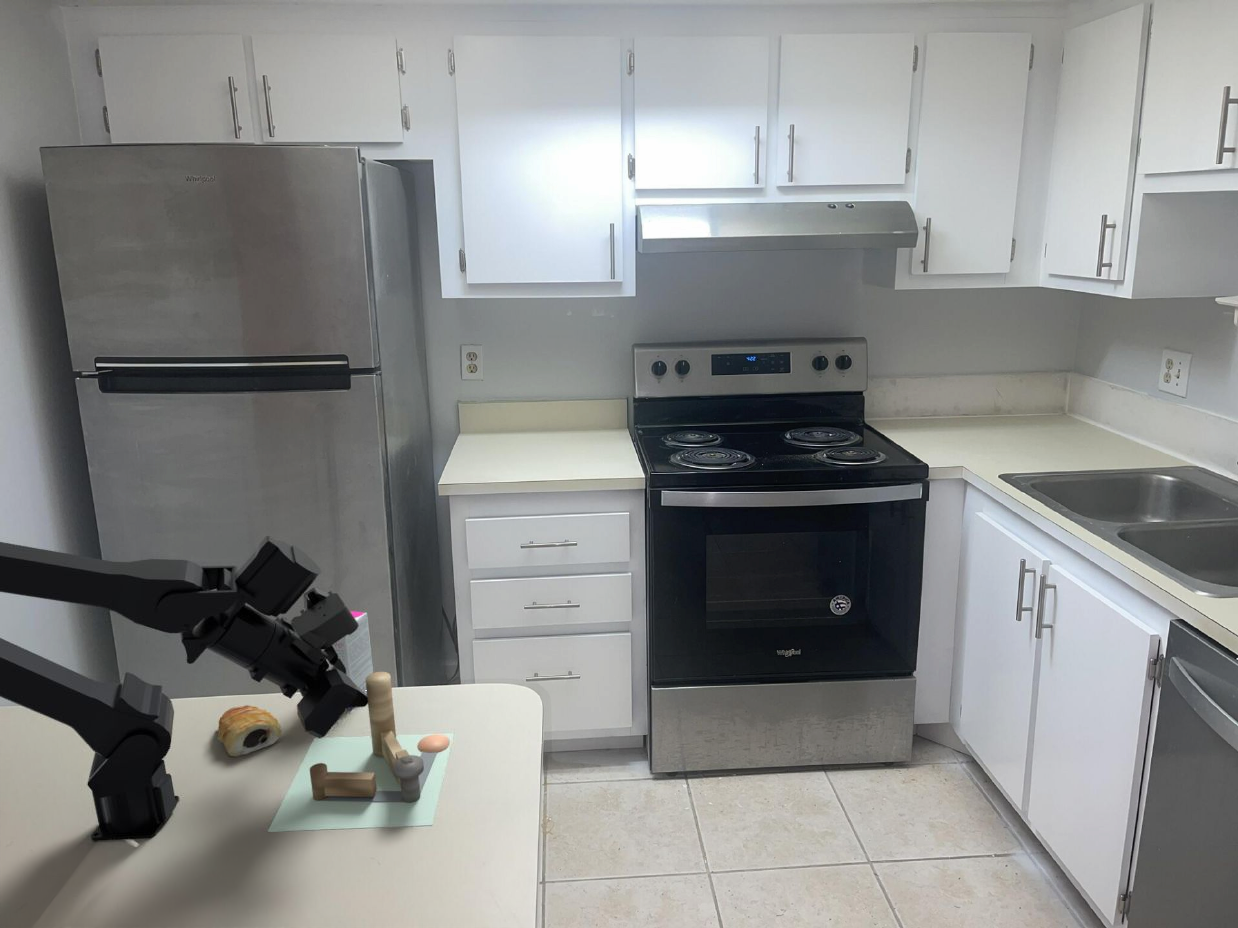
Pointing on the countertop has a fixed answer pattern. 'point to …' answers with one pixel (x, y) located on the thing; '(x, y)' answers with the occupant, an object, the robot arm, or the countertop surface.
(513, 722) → the countertop surface
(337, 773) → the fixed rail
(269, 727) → the pastry
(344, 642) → the supplement box
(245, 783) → the countertop surface
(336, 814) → the card
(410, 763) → the rail
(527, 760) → the countertop surface
